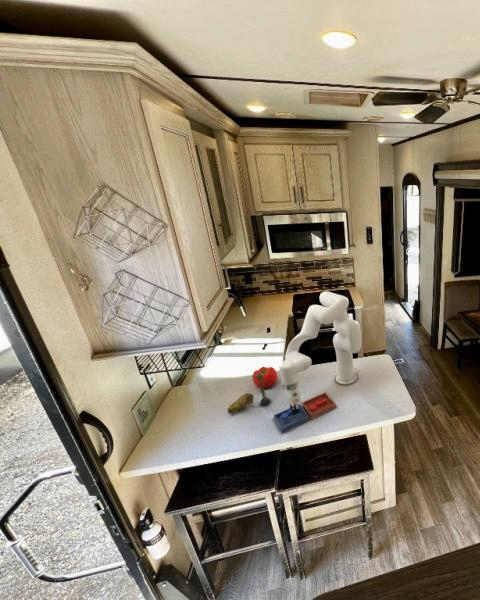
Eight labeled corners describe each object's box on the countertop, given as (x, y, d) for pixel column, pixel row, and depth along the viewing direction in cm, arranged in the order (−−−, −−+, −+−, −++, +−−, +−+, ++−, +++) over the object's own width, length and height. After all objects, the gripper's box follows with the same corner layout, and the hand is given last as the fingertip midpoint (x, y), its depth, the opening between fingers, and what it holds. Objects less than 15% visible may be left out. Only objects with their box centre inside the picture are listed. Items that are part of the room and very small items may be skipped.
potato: (230, 406, 181) (227, 394, 178) (255, 401, 185) (252, 389, 182) (228, 416, 174) (225, 404, 171) (254, 410, 178) (251, 399, 174)
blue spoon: (298, 408, 174) (297, 405, 173) (300, 412, 171) (300, 408, 170) (280, 416, 168) (279, 412, 167) (282, 420, 166) (282, 416, 165)
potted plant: (257, 406, 181) (251, 376, 173) (260, 400, 185) (253, 371, 177) (268, 405, 181) (262, 375, 173) (271, 399, 186) (264, 370, 178)
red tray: (325, 395, 188) (325, 392, 187) (335, 407, 179) (335, 403, 178) (302, 406, 180) (301, 402, 179) (311, 419, 171) (310, 415, 170)
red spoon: (325, 400, 183) (324, 397, 182) (328, 404, 181) (327, 400, 180) (309, 408, 178) (308, 404, 177) (311, 412, 175) (311, 408, 174)
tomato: (280, 377, 205) (278, 363, 200) (274, 391, 193) (271, 376, 188) (258, 378, 204) (255, 364, 200) (251, 392, 192) (247, 377, 188)
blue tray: (300, 407, 180) (299, 403, 179) (309, 420, 171) (308, 416, 170) (274, 419, 172) (273, 415, 171) (282, 433, 163) (281, 429, 162)
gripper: (303, 388, 160) (308, 417, 167) (291, 373, 172) (296, 401, 179) (288, 394, 156) (293, 424, 163) (277, 378, 167) (282, 407, 175)
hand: (295, 412), depth 171 cm, fingers closed on blue spoon, 1 cm apart
